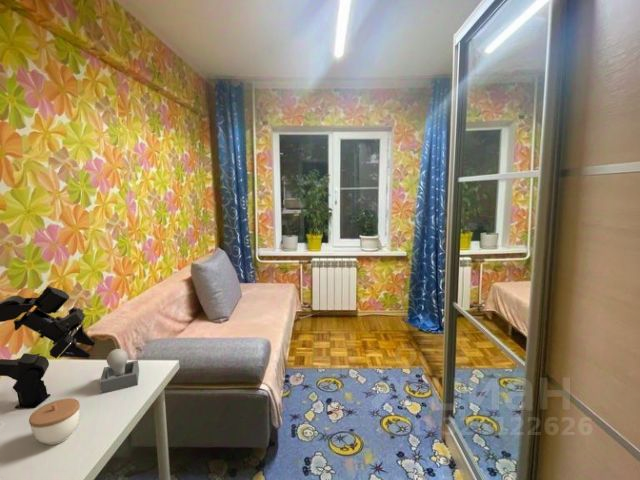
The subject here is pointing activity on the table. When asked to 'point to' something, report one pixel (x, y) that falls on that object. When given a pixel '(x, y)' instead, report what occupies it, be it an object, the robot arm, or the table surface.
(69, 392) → the table surface
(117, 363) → the lightbulb
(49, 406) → the lidded jar
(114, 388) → the socket
